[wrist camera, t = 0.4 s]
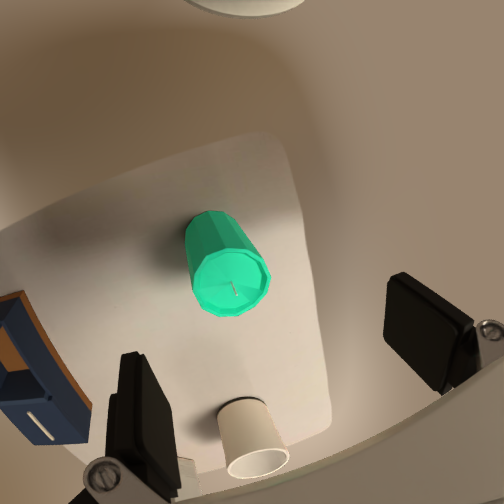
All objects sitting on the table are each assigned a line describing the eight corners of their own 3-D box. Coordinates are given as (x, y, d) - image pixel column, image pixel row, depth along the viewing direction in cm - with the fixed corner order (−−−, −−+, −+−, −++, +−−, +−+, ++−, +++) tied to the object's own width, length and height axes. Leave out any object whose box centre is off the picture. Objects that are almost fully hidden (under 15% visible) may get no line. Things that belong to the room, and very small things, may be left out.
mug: (229, 390, 42) (246, 446, 33) (278, 398, 45) (301, 448, 36) (199, 431, 44) (210, 483, 35) (246, 437, 48) (262, 484, 39)
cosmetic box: (156, 462, 46) (163, 517, 35) (167, 452, 45) (175, 510, 34) (185, 469, 48) (194, 520, 38) (196, 459, 48) (208, 513, 37)
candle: (236, 205, 32) (273, 247, 21) (244, 257, 35) (279, 318, 24) (179, 216, 31) (186, 266, 20) (190, 269, 33) (203, 337, 23)
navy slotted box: (-27, 305, 27) (-53, 338, 20) (23, 290, 29) (-1, 326, 22) (42, 410, 36) (33, 446, 29) (92, 404, 37) (88, 444, 31)
